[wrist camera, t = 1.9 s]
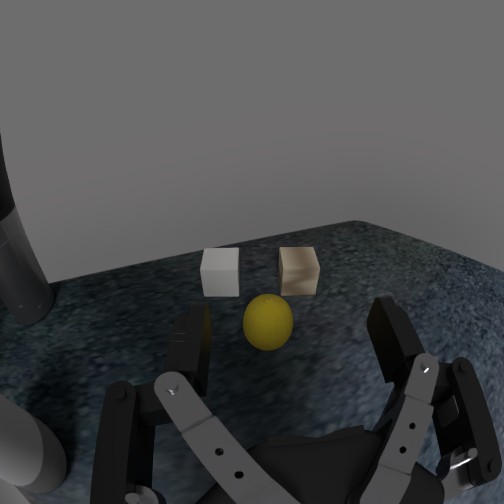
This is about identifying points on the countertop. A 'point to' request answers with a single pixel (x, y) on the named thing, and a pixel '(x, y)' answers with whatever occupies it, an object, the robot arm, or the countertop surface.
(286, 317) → the lemon
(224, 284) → the off-white block
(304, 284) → the birch block
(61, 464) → the smart speaker
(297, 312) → the countertop surface
